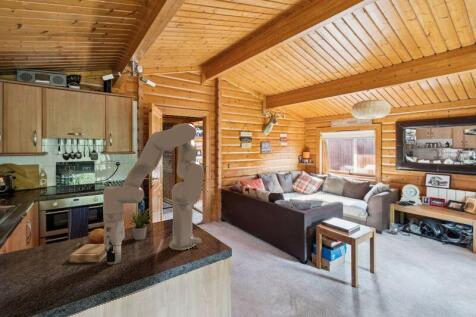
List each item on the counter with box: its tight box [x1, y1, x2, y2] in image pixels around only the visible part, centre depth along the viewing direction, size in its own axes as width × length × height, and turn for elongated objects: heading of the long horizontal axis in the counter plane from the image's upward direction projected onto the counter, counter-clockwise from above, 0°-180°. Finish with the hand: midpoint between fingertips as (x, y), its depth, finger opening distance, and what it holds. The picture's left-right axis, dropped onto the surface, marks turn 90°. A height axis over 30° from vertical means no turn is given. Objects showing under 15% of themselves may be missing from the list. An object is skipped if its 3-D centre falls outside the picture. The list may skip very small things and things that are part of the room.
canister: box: [106, 241, 122, 266], centre depth 104 cm, size 6×6×8 cm
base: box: [69, 243, 107, 263], centre depth 110 cm, size 12×12×3 cm
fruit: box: [87, 228, 104, 244], centre depth 125 cm, size 8×8×8 cm
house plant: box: [128, 208, 155, 241], centre depth 132 cm, size 14×14×16 cm
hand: (114, 258), depth 105 cm, fingers closed on canister, 5 cm apart
